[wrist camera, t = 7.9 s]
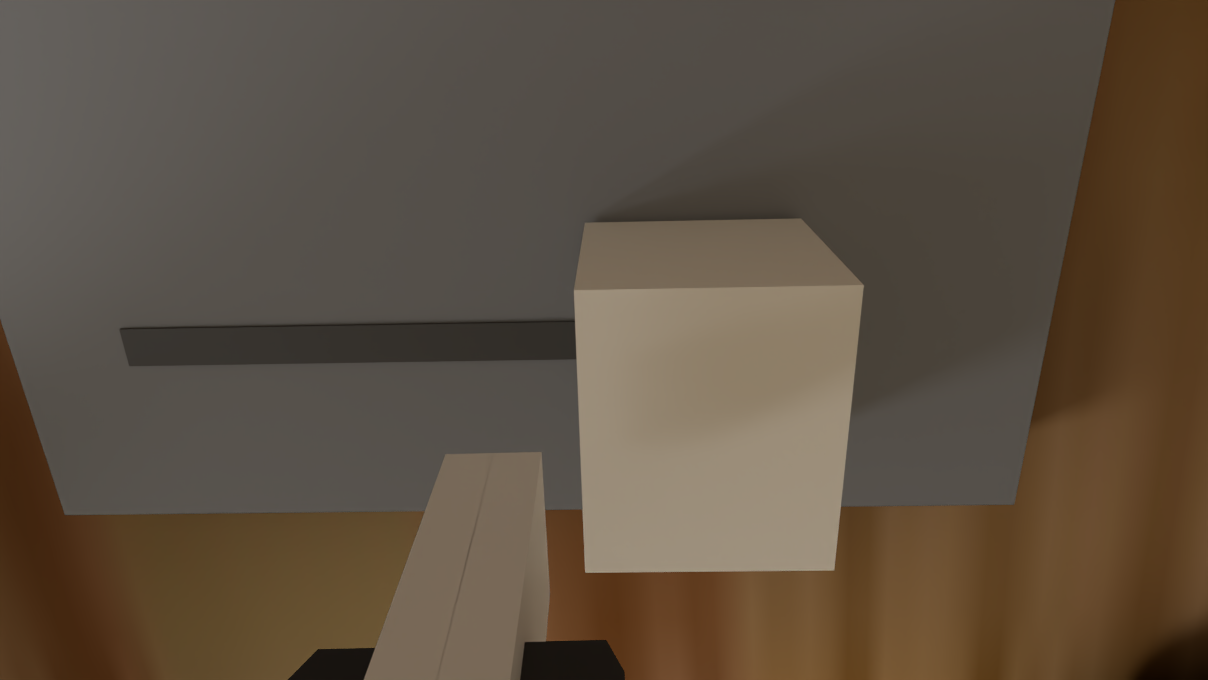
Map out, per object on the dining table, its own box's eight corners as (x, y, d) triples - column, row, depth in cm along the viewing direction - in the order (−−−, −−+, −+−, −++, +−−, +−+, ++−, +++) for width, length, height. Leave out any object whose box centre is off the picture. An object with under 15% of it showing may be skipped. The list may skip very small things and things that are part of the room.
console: (127, 459, 25) (62, 517, 22) (-174, -592, 16) (-352, -731, 13) (968, 448, 24) (1016, 506, 21) (1154, -652, 15) (1281, -811, 12)
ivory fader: (592, 448, 21) (585, 572, 16) (584, 222, 18) (573, 289, 14) (784, 445, 20) (834, 570, 16) (801, 218, 18) (863, 284, 14)
